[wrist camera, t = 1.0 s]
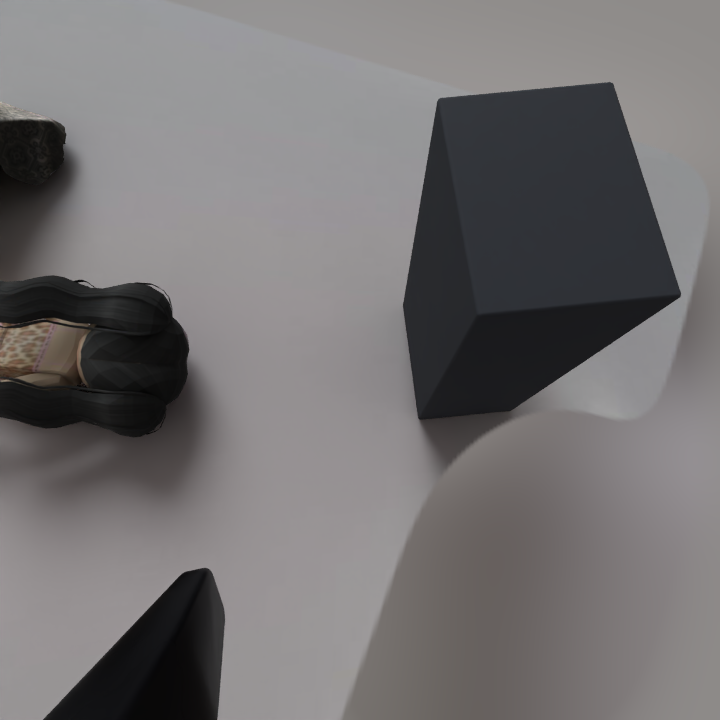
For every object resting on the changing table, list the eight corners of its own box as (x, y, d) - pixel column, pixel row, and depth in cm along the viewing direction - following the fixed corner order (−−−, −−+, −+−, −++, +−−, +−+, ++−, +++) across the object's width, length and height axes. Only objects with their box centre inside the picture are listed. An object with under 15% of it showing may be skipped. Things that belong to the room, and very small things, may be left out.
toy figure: (-108, 431, 23) (189, 451, 22) (-269, 384, 18) (118, 408, 16) (-45, 304, 26) (219, 315, 25) (-167, 229, 20) (168, 238, 19)
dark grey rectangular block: (511, 410, 23) (683, 296, 10) (418, 420, 23) (477, 317, 10) (489, 295, 24) (613, 80, 12) (402, 304, 24) (437, 96, 12)
